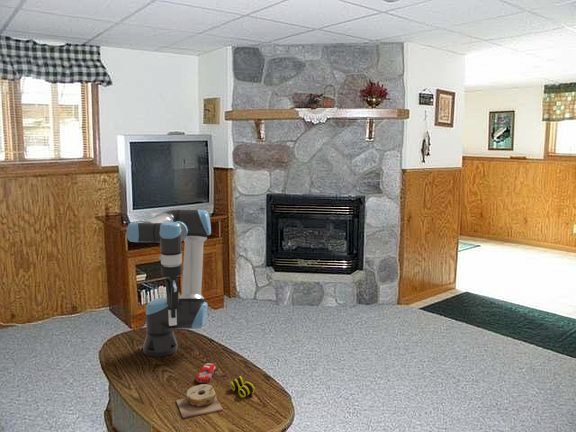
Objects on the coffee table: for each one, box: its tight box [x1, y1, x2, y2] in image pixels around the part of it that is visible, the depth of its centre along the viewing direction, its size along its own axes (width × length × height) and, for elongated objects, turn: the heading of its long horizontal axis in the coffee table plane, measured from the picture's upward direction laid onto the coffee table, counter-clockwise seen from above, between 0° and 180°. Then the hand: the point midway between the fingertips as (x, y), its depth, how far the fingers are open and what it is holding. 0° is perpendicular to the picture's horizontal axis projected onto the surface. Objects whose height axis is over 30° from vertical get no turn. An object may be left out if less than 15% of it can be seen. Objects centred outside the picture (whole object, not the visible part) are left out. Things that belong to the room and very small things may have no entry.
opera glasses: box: [230, 375, 256, 398], centre depth 186 cm, size 10×5×5 cm, turn 39°
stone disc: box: [185, 383, 217, 407], centre depth 178 cm, size 10×4×10 cm
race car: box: [195, 362, 217, 384], centre depth 197 cm, size 13×5×4 cm, turn 170°
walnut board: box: [175, 395, 224, 419], centre depth 175 cm, size 12×14×1 cm
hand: (172, 324), depth 185 cm, fingers closed
